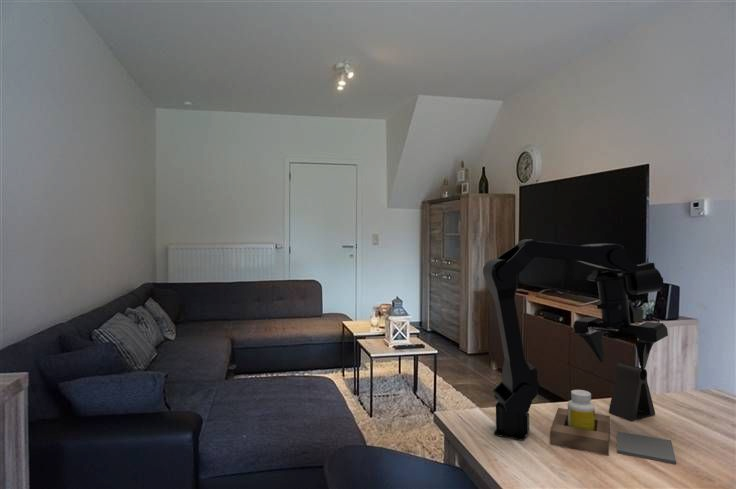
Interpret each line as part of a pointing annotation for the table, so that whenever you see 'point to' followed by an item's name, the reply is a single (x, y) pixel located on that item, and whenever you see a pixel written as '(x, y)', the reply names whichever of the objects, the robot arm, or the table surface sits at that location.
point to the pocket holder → (581, 434)
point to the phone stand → (631, 394)
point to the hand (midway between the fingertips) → (622, 365)
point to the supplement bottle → (581, 410)
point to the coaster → (645, 447)
